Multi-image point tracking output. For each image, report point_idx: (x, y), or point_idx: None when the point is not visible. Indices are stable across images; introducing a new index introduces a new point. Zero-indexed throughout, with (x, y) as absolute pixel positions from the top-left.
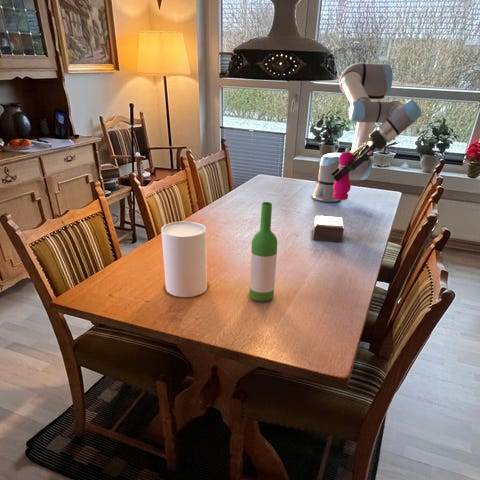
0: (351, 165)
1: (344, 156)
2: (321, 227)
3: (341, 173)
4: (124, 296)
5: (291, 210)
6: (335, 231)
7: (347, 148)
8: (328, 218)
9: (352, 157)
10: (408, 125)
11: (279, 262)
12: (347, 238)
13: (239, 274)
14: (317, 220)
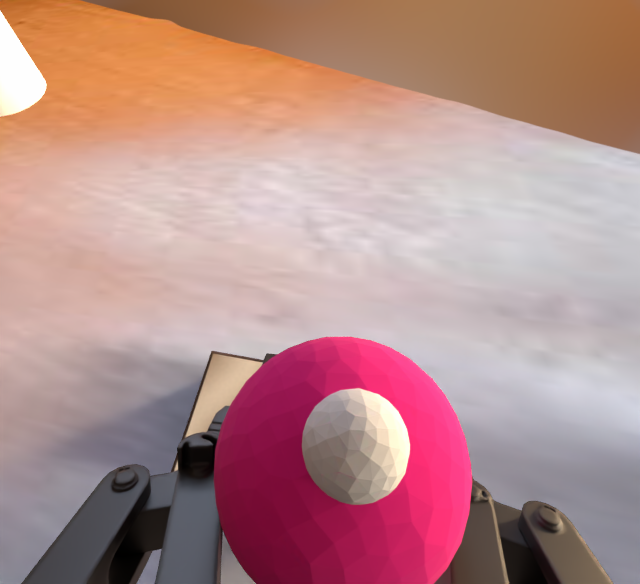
0: (97, 499)
1: (246, 388)
2: (203, 378)
3: (224, 410)
4: None
5: (564, 336)
6: None
7: (330, 422)
8: None
9: (240, 563)
10: None
11: (64, 246)
12: None
13: (25, 165)
14: (257, 366)
